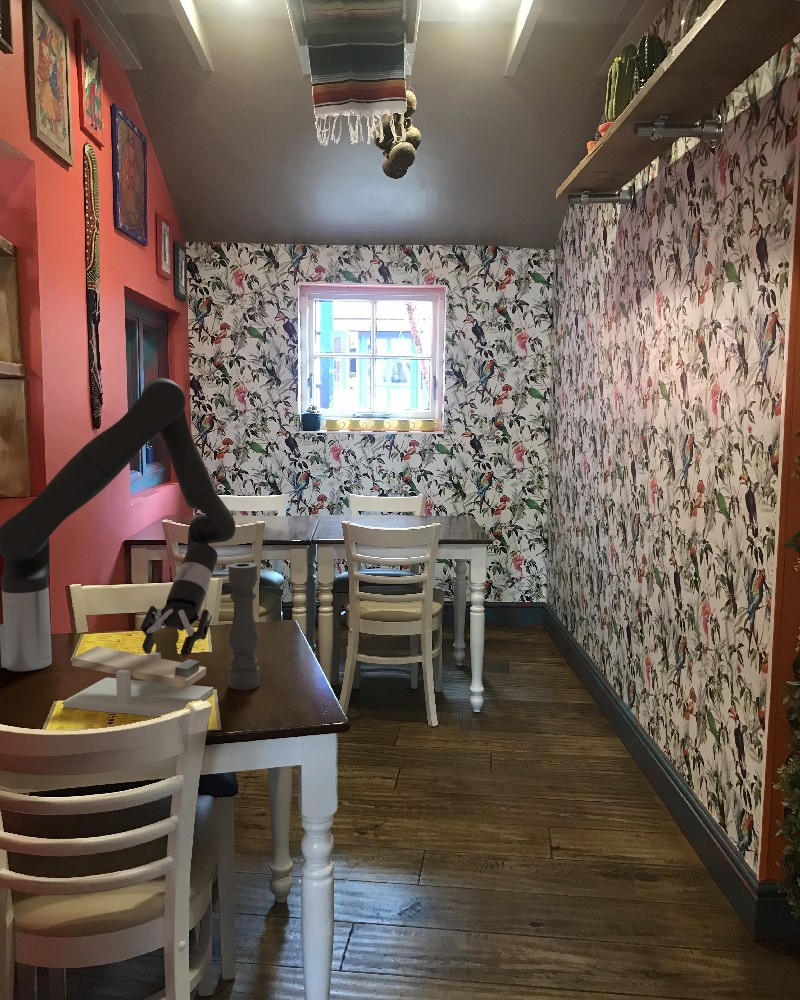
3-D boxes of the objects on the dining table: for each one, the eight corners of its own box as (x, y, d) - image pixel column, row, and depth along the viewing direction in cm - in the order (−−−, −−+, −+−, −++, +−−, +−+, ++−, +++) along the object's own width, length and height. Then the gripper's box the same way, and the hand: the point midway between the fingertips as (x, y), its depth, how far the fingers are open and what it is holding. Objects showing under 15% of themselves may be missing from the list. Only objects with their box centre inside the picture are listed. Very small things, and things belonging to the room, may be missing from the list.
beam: (71, 669, 153) (72, 649, 152) (96, 657, 160) (97, 638, 160) (185, 692, 148) (187, 672, 147) (205, 678, 155) (207, 659, 155)
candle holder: (230, 691, 160) (228, 568, 157) (228, 681, 166) (226, 563, 163) (261, 688, 162) (259, 567, 159) (258, 678, 167) (256, 561, 165)
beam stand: (63, 707, 151) (61, 668, 150) (106, 683, 164) (105, 647, 163) (178, 719, 145) (177, 678, 144) (213, 693, 159) (212, 656, 158)
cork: (173, 685, 163) (172, 633, 162) (146, 683, 164) (145, 631, 163) (187, 676, 169) (185, 625, 168) (160, 673, 170) (159, 623, 169)
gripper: (153, 576, 174) (126, 642, 164) (214, 580, 171) (189, 647, 161) (166, 595, 179) (141, 659, 170) (225, 598, 176) (202, 664, 166)
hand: (164, 653), depth 165 cm, fingers open, 8 cm apart
